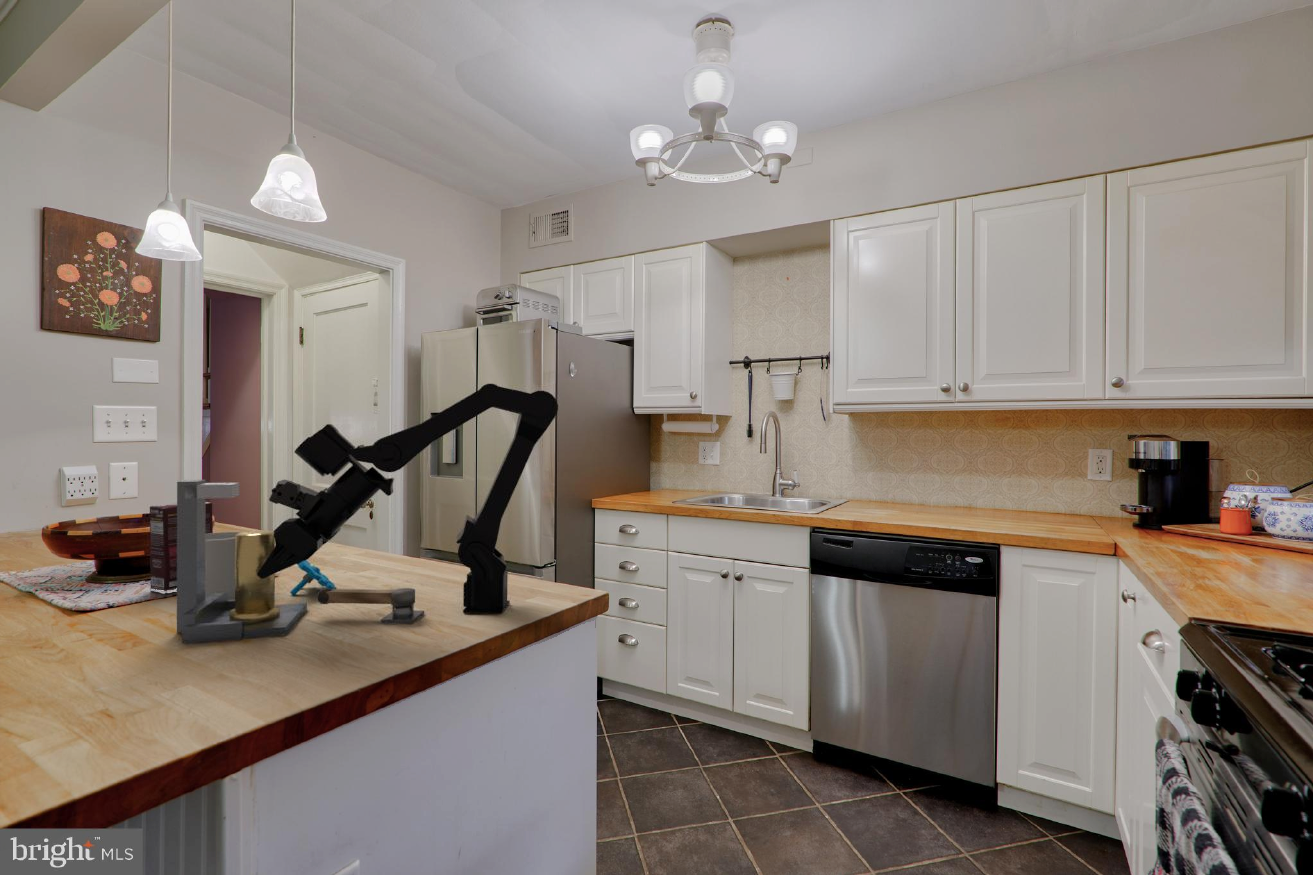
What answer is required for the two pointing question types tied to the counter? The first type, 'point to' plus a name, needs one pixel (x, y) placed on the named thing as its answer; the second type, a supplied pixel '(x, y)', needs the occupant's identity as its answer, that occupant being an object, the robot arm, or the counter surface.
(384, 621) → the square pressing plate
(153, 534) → the supplement box
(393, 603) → the lever
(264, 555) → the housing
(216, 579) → the mug
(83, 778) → the counter surface
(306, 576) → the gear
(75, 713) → the counter surface
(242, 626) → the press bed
